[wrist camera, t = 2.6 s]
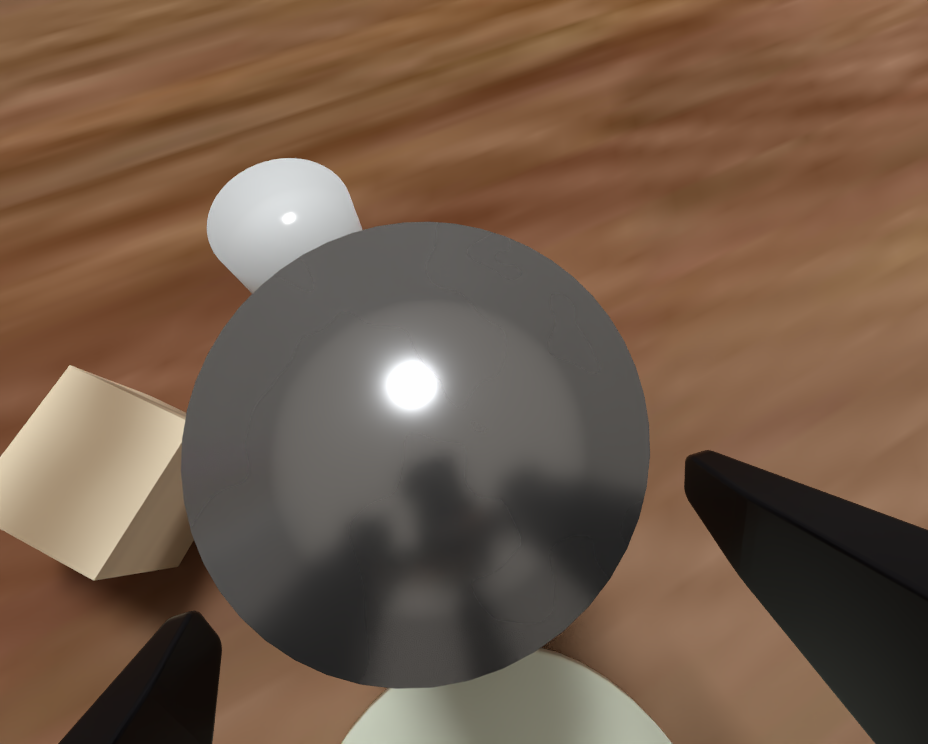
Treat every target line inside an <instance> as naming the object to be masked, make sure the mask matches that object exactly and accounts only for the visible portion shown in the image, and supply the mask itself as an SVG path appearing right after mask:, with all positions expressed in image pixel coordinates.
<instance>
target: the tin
mask: <svg viewBox="0 0 928 744" xmlns="http://www.w3.org/2000/svg"><path fill="white" fill-rule="evenodd" d="M649 459H650V443H649V422H648V416H647V410H646V404H645V397H644V393H643V390H642V386H641V383H640V380H639V376H638V373H637V370H636V367H635V364H634V362H633V360H632V358H631V355H630V353H629V351H628V349H627V347H626V344H625V342H624V340H623V339H622V337H621V335H620V334H619V332H618V330H617V329H616V327H615V325H614V324H613V322H612V321H611V319H610V317H609V316H608V315H607V313H606V312H605V311H604V310H603V308H602V307H601V306H600V305H599V303H598V302H597V301H596V300H595V298H594V297H593V296H592V295H591V294H590V293H589V292H588V291H587V290H586V289H585V288H584V287H583V286H582V285H581V284H580V283H579V282H578V281H577V280H576V279H575V278H574V277H573V276H571V275H570V274H569V273H567V272H566V271H565V270H564V269H562V268H561V267H560V266H558V265H557V264H556V263H554V262H553V261H552V260H550V259H548V258H547V257H545V256H543V255H542V254H540V253H538V252H537V251H535V250H533V249H531V248H530V247H528V246H525V245H523V244H521V243H519V242H516V241H514V240H512V239H510V238H507V237H505V236H502V235H499V234H496V233H492V232H489V231H486V230H483V229H479V228H474V227H469V226H463V225H458V224H450V223H437V222H411V223H398V224H391V225H384V226H377V227H373V228H369V229H366V230H362V231H358V232H354V233H351V234H348V235H345V236H343V237H340V238H337V239H335V240H332V241H329V242H327V243H325V244H323V245H321V246H319V247H317V248H315V249H313V250H311V251H309V252H307V253H305V254H303V255H302V256H300V257H299V258H297V259H296V260H294V261H292V262H291V263H289V264H288V265H286V266H285V267H283V268H282V269H280V270H279V271H278V272H277V273H275V274H274V275H273V276H272V277H271V278H269V279H268V280H267V281H266V282H265V283H263V284H262V285H261V286H260V287H259V288H258V289H257V290H256V291H255V292H254V293H253V294H252V295H251V296H250V297H249V298H248V299H247V300H246V301H245V302H244V303H243V304H242V305H241V306H240V307H239V309H238V310H237V311H236V313H235V314H234V315H233V316H232V318H231V319H230V320H229V322H228V323H227V324H226V326H225V327H224V328H223V330H222V331H221V333H220V335H219V336H218V338H217V340H216V341H215V343H214V345H213V346H212V348H211V350H210V351H209V353H208V355H207V357H206V359H205V362H204V364H203V366H202V368H201V371H200V373H199V375H198V377H197V380H196V382H195V385H194V389H193V392H192V395H191V399H190V402H189V405H188V409H187V413H186V419H185V425H184V431H183V437H182V454H181V477H182V487H183V498H184V504H185V508H186V513H187V517H188V521H189V525H190V529H191V533H192V536H193V538H194V541H195V543H196V546H197V548H198V551H199V553H200V556H201V558H202V561H203V563H204V565H205V567H206V568H207V570H208V572H209V574H210V575H211V577H212V579H213V581H214V582H215V584H216V586H217V588H218V589H219V591H220V592H221V594H222V595H223V596H224V597H225V599H226V600H227V601H228V602H229V604H230V605H231V606H232V607H233V609H234V610H235V611H236V612H237V614H238V615H239V616H240V617H241V618H242V619H243V620H244V621H245V622H246V623H247V624H248V625H249V626H250V627H251V628H253V629H254V630H255V631H256V632H257V633H258V634H259V635H260V636H261V637H262V638H263V639H264V640H266V641H267V642H269V643H270V644H272V645H273V646H275V647H276V648H278V649H279V650H280V651H282V652H283V653H285V654H286V655H288V656H289V657H291V658H292V659H294V660H296V661H298V662H300V663H302V664H305V665H307V666H309V667H311V668H313V669H315V670H317V671H320V672H322V673H324V674H326V675H329V676H333V677H336V678H340V679H343V680H347V681H350V682H354V683H358V684H362V685H370V686H378V687H386V688H394V689H404V688H433V687H438V686H444V685H449V684H454V683H460V682H465V681H469V680H472V679H475V678H478V677H481V676H484V675H487V674H490V673H492V672H495V671H498V670H501V669H503V668H505V667H507V666H509V665H511V664H513V663H515V662H517V661H519V660H521V659H522V658H524V657H526V656H528V655H530V654H532V653H534V652H535V651H537V650H538V649H540V648H541V647H542V646H544V645H545V644H546V643H548V642H549V641H551V640H552V639H553V638H555V637H556V636H557V635H559V634H560V633H562V632H563V631H564V630H565V629H566V628H567V627H568V626H569V625H570V624H571V623H572V622H573V621H574V620H575V619H576V618H577V617H578V616H579V615H580V614H581V613H582V612H584V611H585V610H586V609H587V608H588V607H589V605H590V604H591V603H592V602H593V600H594V599H595V598H596V596H597V595H598V594H599V592H600V591H601V590H602V589H603V587H604V586H605V585H606V583H607V582H608V581H609V579H610V578H611V576H612V574H613V573H614V571H615V569H616V567H617V565H618V564H619V562H620V560H621V558H622V557H623V555H624V553H625V551H626V550H627V547H628V545H629V542H630V540H631V537H632V534H633V532H634V529H635V527H636V524H637V522H638V519H639V516H640V512H641V508H642V504H643V499H644V495H645V491H646V487H647V478H648V468H649Z"/></svg>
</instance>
